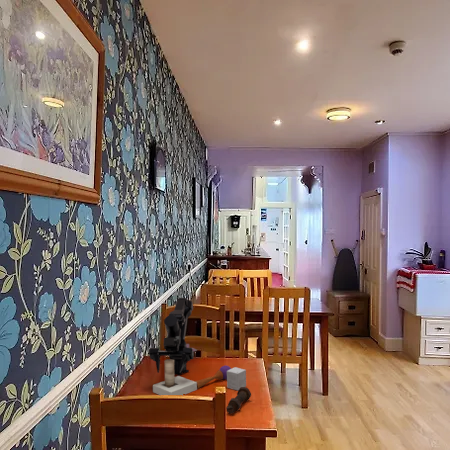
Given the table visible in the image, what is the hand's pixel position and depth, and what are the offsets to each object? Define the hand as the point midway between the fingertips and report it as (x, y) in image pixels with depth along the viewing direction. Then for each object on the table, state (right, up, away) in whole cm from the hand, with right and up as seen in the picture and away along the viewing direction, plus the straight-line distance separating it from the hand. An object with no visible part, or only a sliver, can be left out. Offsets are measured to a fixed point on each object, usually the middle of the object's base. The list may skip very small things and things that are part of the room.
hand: (168, 372), depth 169 cm
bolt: (+28, -8, -14) cm, 33 cm away
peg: (0, -9, +1) cm, 9 cm away
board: (+2, -8, +2) cm, 9 cm away
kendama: (+18, -9, +11) cm, 23 cm away
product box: (+28, -8, +5) cm, 30 cm away
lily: (+2, -9, +44) cm, 45 cm away
